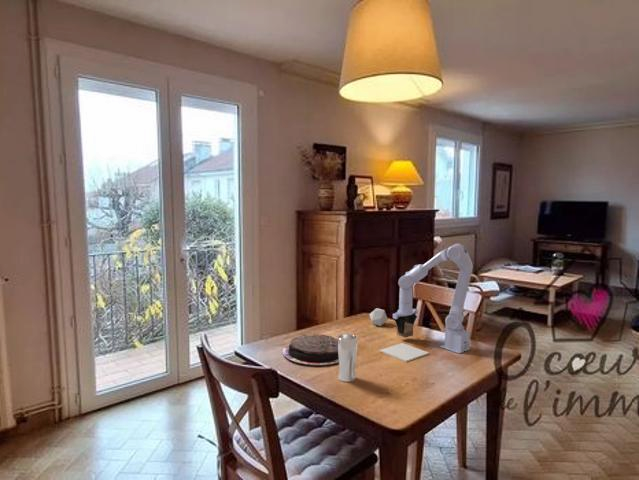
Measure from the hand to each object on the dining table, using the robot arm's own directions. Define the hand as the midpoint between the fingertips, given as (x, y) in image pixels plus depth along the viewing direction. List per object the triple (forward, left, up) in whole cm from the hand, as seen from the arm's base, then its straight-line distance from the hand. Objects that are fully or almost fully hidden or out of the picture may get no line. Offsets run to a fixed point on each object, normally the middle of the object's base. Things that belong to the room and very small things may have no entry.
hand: (405, 331), depth 187 cm
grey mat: (-10, +12, -4) cm, 16 cm away
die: (+23, -7, -4) cm, 24 cm away
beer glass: (-14, +47, -4) cm, 49 cm away
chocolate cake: (+11, +41, -4) cm, 43 cm away
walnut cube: (0, 0, -2) cm, 2 cm away
